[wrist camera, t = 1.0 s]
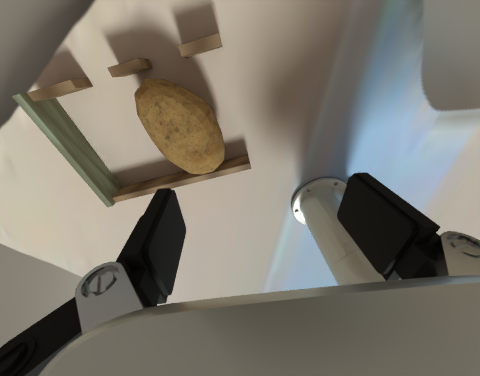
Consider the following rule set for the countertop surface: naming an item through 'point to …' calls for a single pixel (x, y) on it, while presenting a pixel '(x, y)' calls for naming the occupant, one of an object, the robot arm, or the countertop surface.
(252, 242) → the countertop surface
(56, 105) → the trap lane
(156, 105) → the potato
